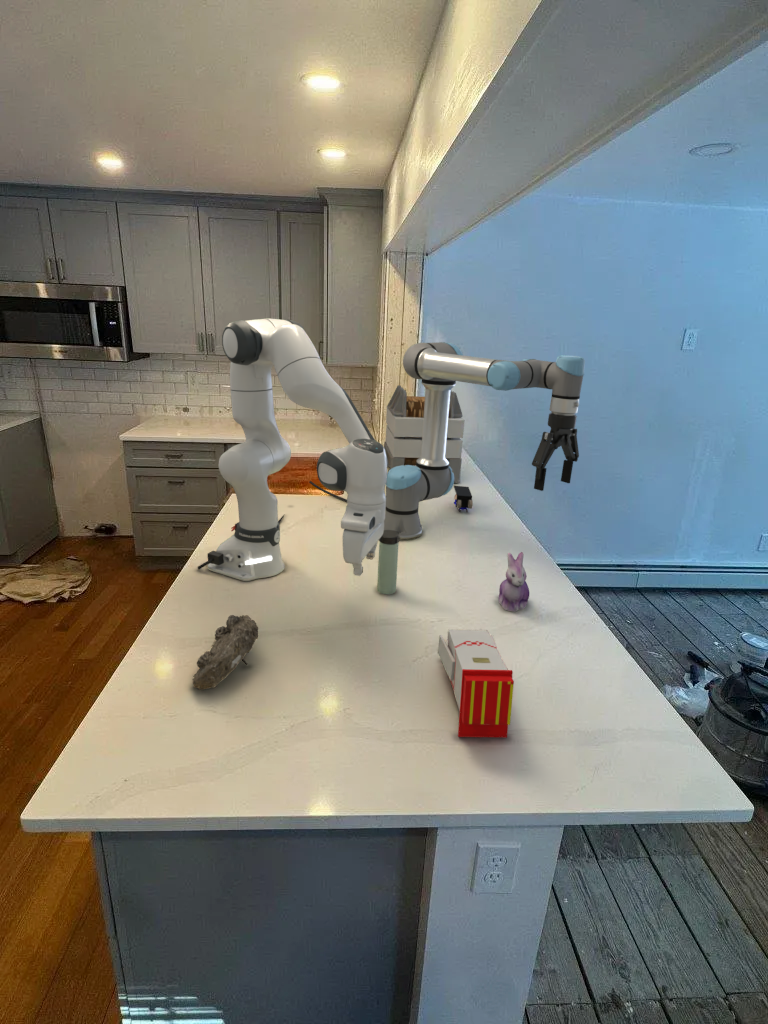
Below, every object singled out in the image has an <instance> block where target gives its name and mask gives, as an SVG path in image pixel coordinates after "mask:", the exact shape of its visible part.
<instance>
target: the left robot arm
mask: <svg viewBox="0 0 768 1024" xmlns="http://www.w3.org/2000/svg"><path fill="white" fill-rule="evenodd" d="M221 345H222V350H223V352H224V354H225V356H226V358H227V359H228V360H229V362H230V365H229V388H230V402H231V412H232V413H231V415H232V418H233V421H235V423H237V424H238V425H239V426H240V427H241V428H242V431H243V433H244V436H245V441H244V442H241V443H238V444H234V445H232V446H230V448H228V449H227V450H225V452H223V453H222V454H221V455H220V456H219V459H218V471H219V474H220V476H221V477H222V479H223V480H224V481H225V482H226V483H228V484H229V485H230V486H231V487H232V489H233V491H234V493H235V496H236V500H237V501H236V502H237V508H238V510H237V511H238V522H236V523H235V524H234V525H233V526H232V527H231V528H230V531H231V532H233V531H234V533H233V534H231V536H229V537H228V538H227V539H225V540H224V541H222V542H221V543H220V544H219V545H218V547H217V548H216V550H212V551H209V552H207V554H206V555H207V561H205V562H204V563H201V564H200V565H198V566H197V567H196V568H197V569H198V570H201V569H202V568H205V567H206V566H207V570H208V571H211V572H214V573H217V574H220V575H223V576H227V577H229V578H233V579H237V580H238V581H239V580H240V581H242V582H249V581H254V580H257V579H265V578H271V577H273V576H277V575H279V574H281V573H282V572H283V571H284V570H285V567H286V566H285V562H284V560H283V556H282V551H281V545H280V541H281V526H280V525H281V524H279V522H278V521H279V504H278V503H279V502H278V497H277V496H276V495H275V493H273V492H272V491H271V490H270V488H269V484H268V477H269V476H271V475H273V474H275V473H278V472H279V471H281V470H282V469H283V468H284V467H285V466H286V465H287V464H289V462H290V460H291V458H292V449H291V446H290V444H289V443H288V441H287V440H286V439H285V438H284V437H283V436H282V434H281V432H280V429H279V427H278V424H277V420H276V415H275V406H274V392H273V380H272V379H273V378H272V369H273V367H274V370H275V373H276V376H277V378H278V381H279V384H280V386H281V388H282V390H283V392H284V394H285V395H286V396H287V398H288V400H290V401H291V402H293V404H295V405H297V406H300V407H303V408H307V409H312V410H315V411H318V412H321V413H324V414H325V415H328V416H329V417H331V418H332V419H333V420H334V421H335V422H336V423H337V425H338V427H339V428H340V431H341V433H342V434H343V436H344V437H345V439H346V441H347V442H348V444H347V445H345V446H342V447H337V448H333V449H328V450H326V451H323V452H322V453H321V454H320V456H319V457H318V460H317V462H316V474H317V475H316V476H317V478H318V480H319V483H320V484H321V485H322V486H323V487H324V488H325V489H327V490H329V491H335V492H342V491H343V492H345V493H346V494H347V495H346V496H347V497H346V499H347V502H346V507H345V511H344V514H343V516H342V518H341V519H340V528H341V529H342V530H343V531H342V557H343V558H342V559H343V560H344V562H345V563H347V564H350V565H352V568H353V575H354V576H359V577H360V576H362V575H363V573H364V566H363V564H362V563H363V560H364V559H365V558H366V559H367V560H374V558H375V557H376V550H377V545H378V542H379V539H380V538H381V536H382V535H383V532H384V520H385V510H386V482H387V474H388V467H387V466H388V461H387V456H386V452H385V449H384V444H382V443H380V442H379V441H377V440H376V439H375V438H374V436H373V435H372V433H371V431H370V429H369V428H368V426H367V425H366V423H365V421H364V419H363V418H362V415H361V414H360V412H359V410H358V409H357V407H356V405H355V404H354V402H353V401H352V399H351V397H350V395H349V394H348V393H347V391H346V390H345V389H344V388H343V387H342V386H340V384H338V383H337V382H336V381H335V380H334V379H333V378H332V376H331V375H330V374H329V372H328V371H327V369H326V368H325V366H324V364H323V362H322V360H321V357H320V354H319V353H318V351H317V349H316V346H315V345H314V343H313V342H312V340H311V338H310V337H309V335H308V333H307V332H306V330H305V328H304V326H303V325H302V324H301V323H300V322H298V321H295V320H293V319H288V318H285V319H279V318H268V317H267V318H266V317H265V318H256V319H248V320H244V319H238V320H235V321H231V322H230V323H228V324H226V325H225V327H224V328H223V332H222V335H221Z"/></svg>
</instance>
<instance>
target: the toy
mask: <svg viewBox="0 0 768 1024" xmlns="http://www.w3.org/2000/svg"><path fill="white" fill-rule="evenodd" d="M446 640H447V643H446V641H445V639H444V636H443V635H442V634H439V637H438V646H437V656H438V657H439V659H440V661H441V663H442V666H443V668H444V670H445V672H446V674H447V677H448V679H449V681H450V684H451V687H452V690H453V693H454V697H455V701H456V705H457V708H458V711H459V714H458V715H459V716H458V730H457V731H458V732H457V737H458V738H508V731H509V726H510V725H511V717H512V707H513V697H514V696H513V695H514V684H515V680H514V679H513V673H514V671H513V670H512V669H508V667H507V665H506V662H505V661H504V659H503V658H502V655H501V653H500V651H499V649H498V647H497V643H496V639H495V637H494V635H493V634H491V632H490V631H489V629H467V628H466V629H465V628H463V629H461V628H460V629H459V628H448V630H447V639H446Z"/></svg>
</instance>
